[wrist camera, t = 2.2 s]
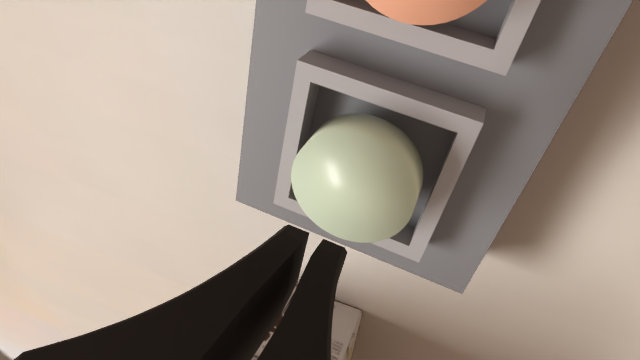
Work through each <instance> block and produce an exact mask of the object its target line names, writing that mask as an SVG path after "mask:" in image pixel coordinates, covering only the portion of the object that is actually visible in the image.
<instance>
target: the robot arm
mask: <svg viewBox="0 0 640 360" xmlns="http://www.w3.org/2000/svg"><path fill="white" fill-rule="evenodd" d="M308 236H309V233H308V232H305V231H303V230H301V229H298V228H296V227H293V226H291V225H287V226H284V227H283V228H282V229H281V230H279V231H278V232H277V233H276V234H275V235H273V236H272V237H271V238H269V239H268V240H267V241H266V242H264V243H263V244H262V245H260V246H259V247H257V248H256V249H255V250H253V251H252V252H251V253H249V254H248V255H246V256H245V257H243V258H242V259H240V260H239V261H237V262H236V263H234V264H233V265H231V266H230V267H228V268H227V269H225V270H223V271H222V272H220V273H218V274H217V275H215V276H213V277H212V278H210V279H208V280H207V281H205V282H203V283H202V284H200V285H198V286H196V287H194V288H193V289H191V290H189V291H187V292H185V293H183V294H181V295H179V296H177V297H175V298H173V299H171V300H169V301H167V302H165V303H163V304H161V305H158V306H156V307H154V308H152V309H149V310H147V311H145V312H143V313H140V314H138V315H136V316H133V317H131V318H128V319H126V320H123V321H120V322H118V323H115V324H112V325H109V326H106V327H104V328H101V329H98V330H95V331H93V332H90V333H87V334H84V335H81V336H78V337H75V338H71V339H68V340H64V341H61V342H57V343H54V344H50V345H47V346H43V347H40V348H36V349H33V350H29V351H25V352H23V353H21V354H20V355H19V356H18V357H17V358H15V359H14V360H251V359H252V358H253V356H254V355H255V353H256V352H257V350H258V349H259V347H260V346H261V344H262V343H263V341H264V340H265V338H266V337H267V335H268V334H269V332H270V331H271V329H272V327H273V326H274V324H275V323H276V321H277V320H278V318H279V317H280V315H281V314H282V312H283V310H284V308H285V306H286V304H287V302H288V300H289V298H290V296H291V294H292V292H293V290H294V288H295V286H296V284H297V281H298V277H299V273H300V269H301V265H302V261H303V257H304V252H305V248H306V244H307V240H308ZM346 255H347V251H346V250H345V248H344V247H342V246H339V245H337V244H334V243H332V242H330V241H327V240H325V239H323V240H322V242H321V243H320V244H319V246H318V247H317V248H316V250H315V251H314V253H313V254H312V256H311V257H310V260H309V262H308V264H307V266H306V268H305V270H304V272H303V275H302V277H301V279H300V281H299V283H298V285H297V288H296V290H295V292H294V294H293V296H292V299H291V301H290V303H289V305H288V307H287V309H286V312H285V314H284V316H283V317H282V319H281V321H280V323H279V325H278V327H277V329H276V330H275V332H274V333H273V335H272V336H271V338H270V340H269V341H268V343H267V344H266V346H265V348H264V349H263V351H262V352H261V354H260V355H259V357H258V358H257V360H331V335H332V319H333V309H334V301H335V293H336V287H337V283H338V279H339V276H340V273H341V270H342V267H343V264H344V261H345V258H346Z"/></svg>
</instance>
